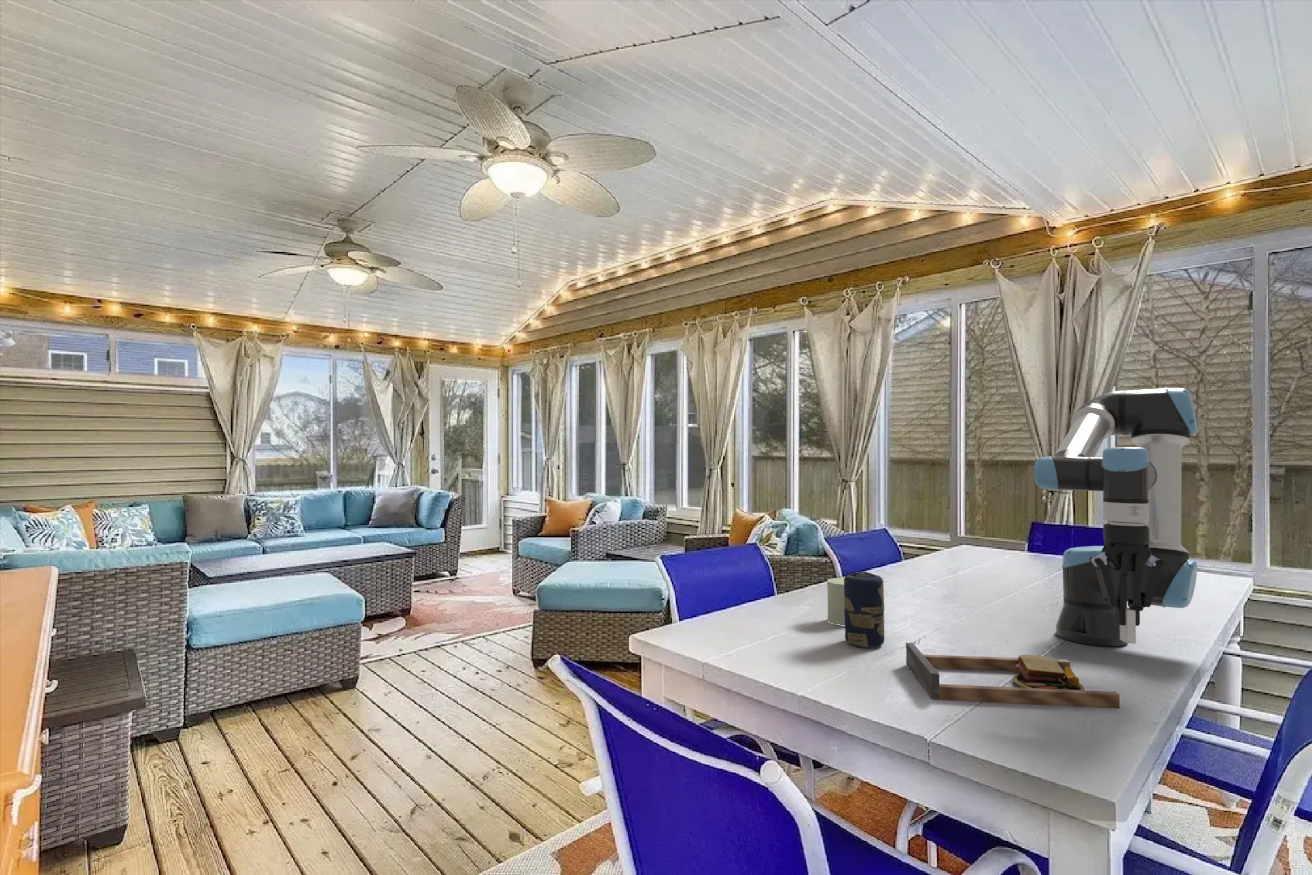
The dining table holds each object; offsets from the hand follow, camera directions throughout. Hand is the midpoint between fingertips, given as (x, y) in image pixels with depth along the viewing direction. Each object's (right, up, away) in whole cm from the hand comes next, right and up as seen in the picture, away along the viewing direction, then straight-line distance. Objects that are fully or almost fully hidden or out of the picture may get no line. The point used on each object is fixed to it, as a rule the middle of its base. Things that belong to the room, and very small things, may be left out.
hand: (1127, 641), depth 129 cm
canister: (-43, -11, +31) cm, 54 cm away
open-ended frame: (-22, -10, +3) cm, 25 cm away
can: (-42, -11, +52) cm, 67 cm away
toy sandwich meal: (-15, -10, +2) cm, 19 cm away
